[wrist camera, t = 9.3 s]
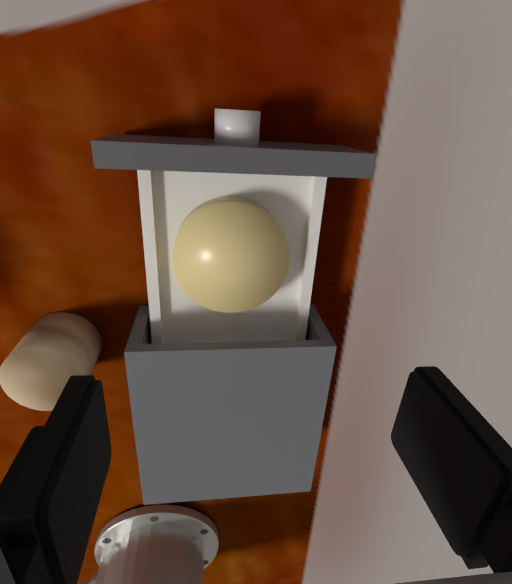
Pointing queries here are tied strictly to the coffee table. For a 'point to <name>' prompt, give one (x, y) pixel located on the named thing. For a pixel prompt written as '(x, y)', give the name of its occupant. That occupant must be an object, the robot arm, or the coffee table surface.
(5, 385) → the beige rounded lump
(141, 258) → the coffee table surface
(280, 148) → the drawer
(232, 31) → the coffee table surface
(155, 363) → the housing
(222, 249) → the cream domed disc
